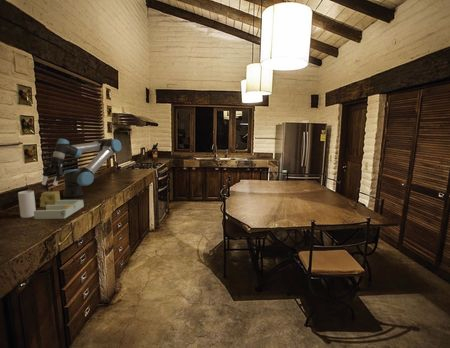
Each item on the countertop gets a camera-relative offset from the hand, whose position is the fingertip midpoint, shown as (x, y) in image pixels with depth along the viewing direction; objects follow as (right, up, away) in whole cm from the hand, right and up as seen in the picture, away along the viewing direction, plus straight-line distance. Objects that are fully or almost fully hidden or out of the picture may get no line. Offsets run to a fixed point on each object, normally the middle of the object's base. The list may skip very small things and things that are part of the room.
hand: (48, 184), depth 191 cm
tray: (+18, -18, -14) cm, 29 cm away
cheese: (-1, -16, +3) cm, 16 cm away
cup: (+1, -20, -21) cm, 29 cm away
